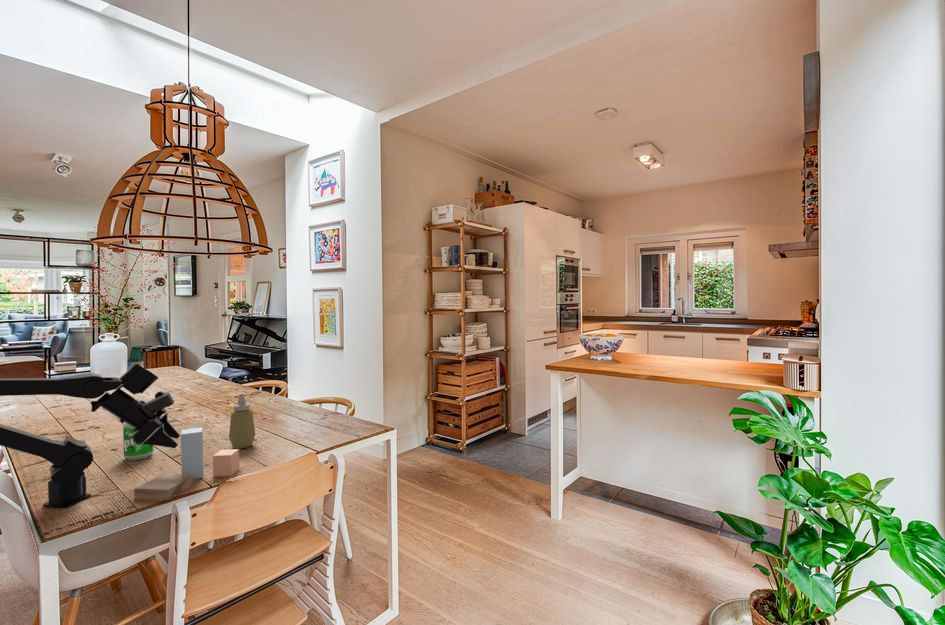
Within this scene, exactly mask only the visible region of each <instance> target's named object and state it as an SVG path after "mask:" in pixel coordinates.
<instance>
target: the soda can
mask: <svg viewBox="0 0 945 625" xmlns="http://www.w3.org/2000/svg"><path fill="white" fill-rule="evenodd" d="M122 432H123V433H122V435H123V436H122V441H123V457H124V458H125V459H126V460H128V461H139V460H143V459H147V458H150V456H151V455H152V454H153V453H154V445H148V444H145V445H144V444H143V443H142V444H138V443H136V442H135V441H133V435H134V434H135V431H134V428H133V427H132V426H130V425H129V424H127V423H125V422H124V424H122Z"/></svg>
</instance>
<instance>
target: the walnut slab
mask: <svg viewBox="0 0 945 625" xmlns="http://www.w3.org/2000/svg"><path fill="white" fill-rule="evenodd" d="M193 486H195V479H194V475H182V474H165V473H163V474H161V475H159V476H157V477H154V478H153V479H150V480H148V481H146V482H145V483H143V484H141V485H139V486H137V487H134V489H133V490H134V491H133V492H134V499H135V500H150V501H151V500H152V501H153V500H155V501H156V500H157V501H170V500H171V499H172V498H174V497H176V496H177V494H178V495H179V494H181V493H183V492H184V491H186V490H188V489H189V488H192V487H193ZM175 495H176V496H175Z"/></svg>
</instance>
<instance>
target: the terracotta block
mask: <svg viewBox="0 0 945 625" xmlns="http://www.w3.org/2000/svg"><path fill="white" fill-rule="evenodd" d="M239 470H240V449H236V448H233V449H231V448H230V449H220V450H218V451H217V452H215V454H213V455H212V477H231V476H233V475H234V474H235V473H236V472H237V471H239Z"/></svg>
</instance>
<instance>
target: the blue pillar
mask: <svg viewBox="0 0 945 625" xmlns="http://www.w3.org/2000/svg"><path fill="white" fill-rule="evenodd" d="M203 430H204V428H203V426H202V427H201V426H200V427H196V428H187V429H186V428H185V429H181V432H180V456H181V457H180V464H181V467H180V468H181V475H194V480H196V479H200V478H203V477H204V434H203V433H204V431H203Z"/></svg>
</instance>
